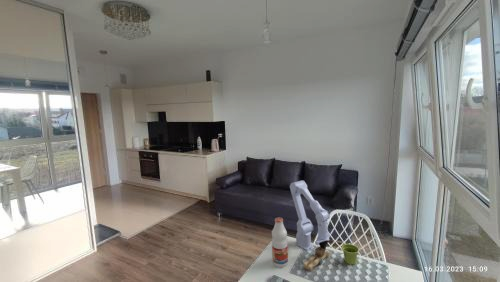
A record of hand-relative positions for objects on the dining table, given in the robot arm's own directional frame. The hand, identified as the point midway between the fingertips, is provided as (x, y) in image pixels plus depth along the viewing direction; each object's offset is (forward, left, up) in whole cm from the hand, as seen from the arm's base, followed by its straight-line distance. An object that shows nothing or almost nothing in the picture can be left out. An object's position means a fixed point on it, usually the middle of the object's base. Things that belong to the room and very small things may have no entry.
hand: (323, 251), depth 144 cm
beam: (0, -7, -4) cm, 8 cm away
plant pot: (+14, +7, -4) cm, 16 cm away
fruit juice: (-15, -23, -4) cm, 28 cm away
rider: (0, -3, -2) cm, 4 cm away
